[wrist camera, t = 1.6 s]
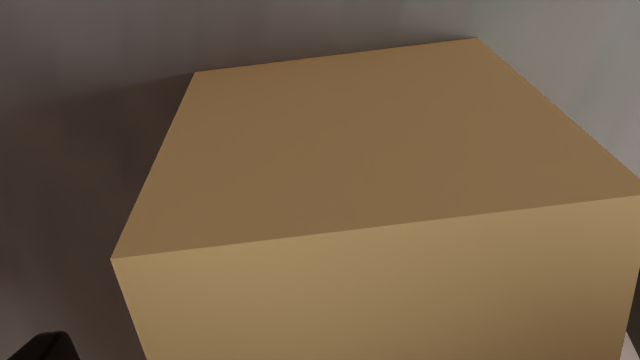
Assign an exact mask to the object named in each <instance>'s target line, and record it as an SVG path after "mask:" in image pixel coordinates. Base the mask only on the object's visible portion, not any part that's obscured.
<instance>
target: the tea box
mask: <svg viewBox="0 0 640 360" xmlns="http://www.w3.org/2000/svg"><path fill="white" fill-rule="evenodd" d="M110 260H111V263H112V266H113V269H114V271H115V274H116V277H117V280H118V282H119V285H120V288H121V291H122V293H123V296H124V299H125V301H126V304H127V307H128V310H129V312H130V315H131V318H132V321H133V323H134V326H135V329H136V332H137V334H138V337H139V340H140V342H141V345H142V348H143V351H144V353H145V356H146V359H147V360H620V356H621V351H622V347H623V342H624V337H625V333H626V328H627V324H628V319H629V314H630V310H631V305H632V301H633V296H634V291H635V287H636V282H637V278H638V273H639V268H640V179H639V178H638V177H637V176H635V175H634V174H633V173H632V172H631V171H630V170H629V169H627V168H626V167H625V166H624V165H623V164H622V163H620V162H619V161H618V160H617V159H616V158H615V157H614V156H612V155H611V154H610V153H609V152H608V151H607V150H606V149H604V148H603V147H602V146H601V145H600V144H599V143H597V142H596V141H595V140H594V139H593V138H592V137H591V136H589V135H588V134H587V133H586V132H585V131H584V130H583V129H581V128H580V127H579V126H578V125H577V124H576V123H574V122H573V121H572V120H571V119H570V118H569V117H568V116H566V115H565V114H564V113H563V112H562V111H561V110H560V109H558V108H557V107H556V106H555V105H554V104H553V103H551V102H550V101H549V100H548V99H547V98H546V97H545V96H543V95H542V94H541V93H540V92H539V91H538V90H537V89H535V88H534V87H533V86H532V85H531V84H530V83H529V82H527V81H526V80H525V79H524V78H523V77H522V76H520V75H519V74H518V73H517V72H516V71H515V70H514V69H512V68H511V67H510V66H509V65H508V64H507V63H506V62H504V61H503V60H502V59H501V58H500V57H499V56H497V55H496V54H495V53H494V52H493V51H492V50H491V49H489V48H488V47H487V46H486V45H485V44H484V43H483V42H481V41H480V40H479V39H478V38H470V39H462V40H453V41H445V42H437V43H429V44H421V45H413V46H405V47H396V48H388V49H380V50H372V51H364V52H356V53H347V54H339V55H331V56H323V57H315V58H307V59H298V60H290V61H282V62H274V63H266V64H258V65H250V66H241V67H233V68H225V69H217V70H209V71H201V72H195V73H194V75H193V77H192V80H191V82H190V84H189V86H188V88H187V91H186V93H185V95H184V97H183V99H182V102H181V104H180V106H179V108H178V110H177V113H176V115H175V117H174V119H173V121H172V124H171V126H170V128H169V130H168V132H167V135H166V137H165V139H164V141H163V143H162V146H161V148H160V150H159V152H158V154H157V157H156V159H155V161H154V163H153V165H152V168H151V170H150V172H149V174H148V176H147V179H146V181H145V183H144V185H143V187H142V190H141V192H140V194H139V196H138V199H137V201H136V203H135V205H134V207H133V210H132V212H131V214H130V216H129V218H128V221H127V223H126V225H125V227H124V229H123V232H122V234H121V236H120V238H119V240H118V243H117V245H116V247H115V249H114V251H113V254H112V256H111V258H110Z"/></svg>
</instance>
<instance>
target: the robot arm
mask: <svg viewBox="0 0 640 360" xmlns="http://www.w3.org/2000/svg"><path fill="white" fill-rule="evenodd" d="M626 331H627V333H628V336H629V338H630V340H631V342H632V344H633V346H634V348H635V350H636V352H637V354H638V356H639V358H640V268H639V273H638V278H637V282H636V287H635V291H634V296H633V301H632V305H631V310H630V314H629V319H628V324H627V328H626ZM7 360H80V358H79V356H78V354H77V352H76V349H75V347H74V345H73V343H72V340H71V338H70V336H69V335H68V334H67V333H66V332H65V331H54V332H46V333H41V334H38V335H36V336H35V337H34V338H32V339H31V340H30V341H29V342H28V343H26V344H25V345H24V346H23V347H22V348H20V349H19V350H18V351H17V352H16V353H14V354H13V355H12V356H11V357H10V358H8V359H7Z"/></svg>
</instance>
